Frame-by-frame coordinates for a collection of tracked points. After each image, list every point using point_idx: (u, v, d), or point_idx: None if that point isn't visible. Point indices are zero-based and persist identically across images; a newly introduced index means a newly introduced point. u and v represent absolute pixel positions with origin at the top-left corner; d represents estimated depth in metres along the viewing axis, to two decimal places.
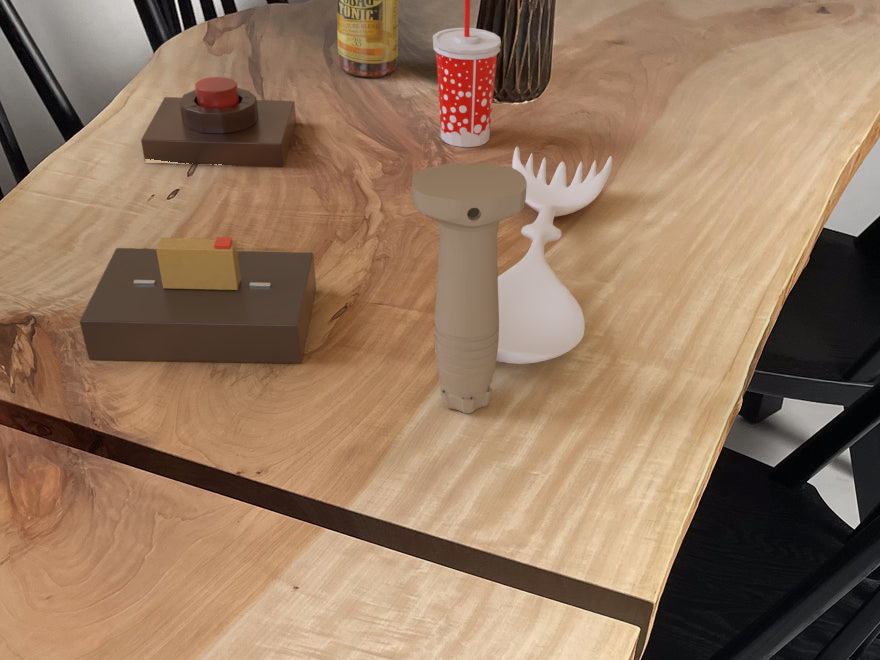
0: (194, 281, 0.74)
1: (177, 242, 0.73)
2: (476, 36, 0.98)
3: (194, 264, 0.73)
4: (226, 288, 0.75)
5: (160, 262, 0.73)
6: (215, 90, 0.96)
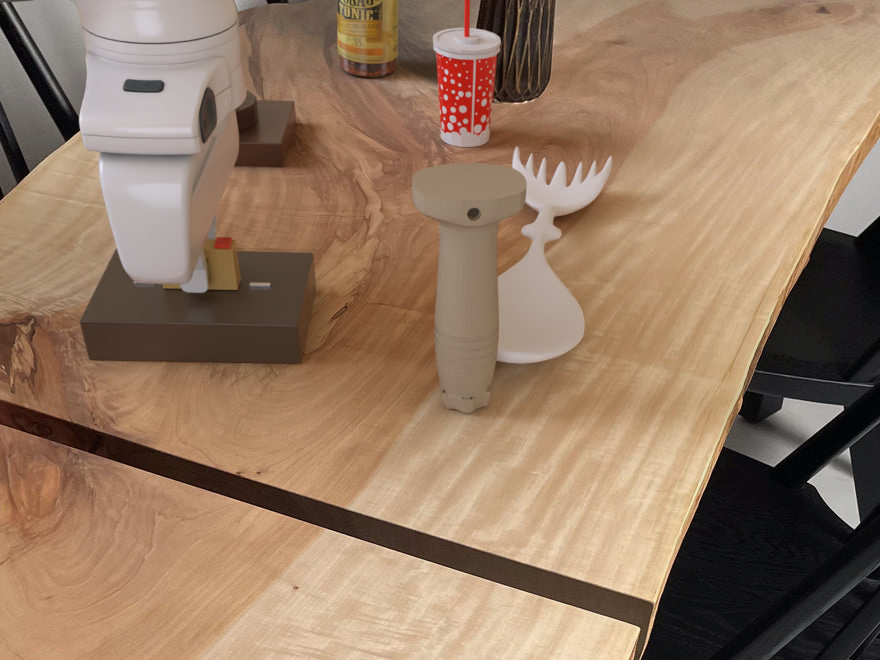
0: None
1: None
2: (476, 36, 0.98)
3: None
4: (226, 288, 0.75)
5: None
6: None
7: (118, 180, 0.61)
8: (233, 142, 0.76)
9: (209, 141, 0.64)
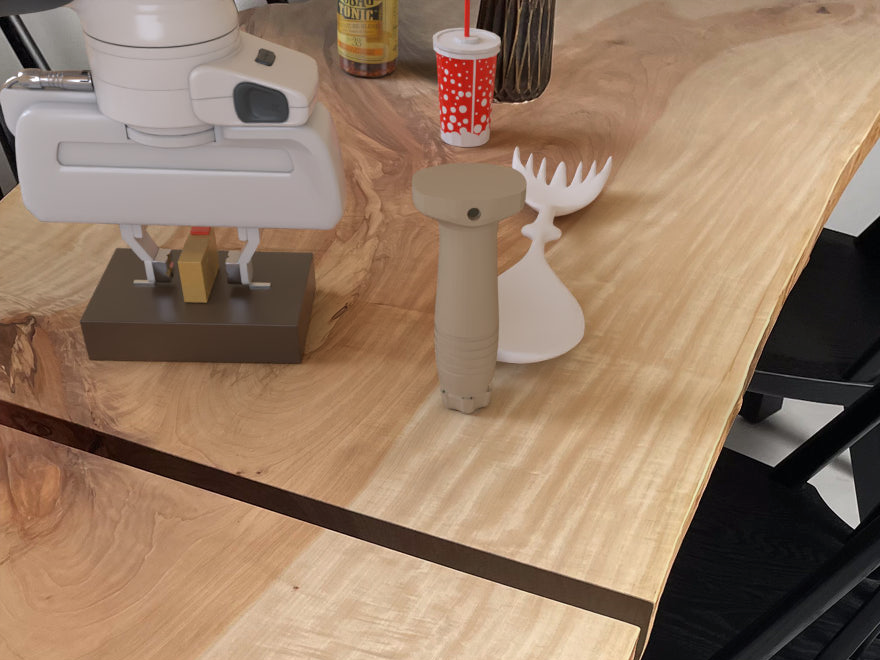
0: (211, 278, 0.75)
1: (190, 252, 0.72)
2: (476, 36, 0.98)
3: (209, 260, 0.74)
4: (217, 270, 0.76)
5: (203, 275, 0.72)
6: None
7: (324, 133, 0.67)
8: None
9: None
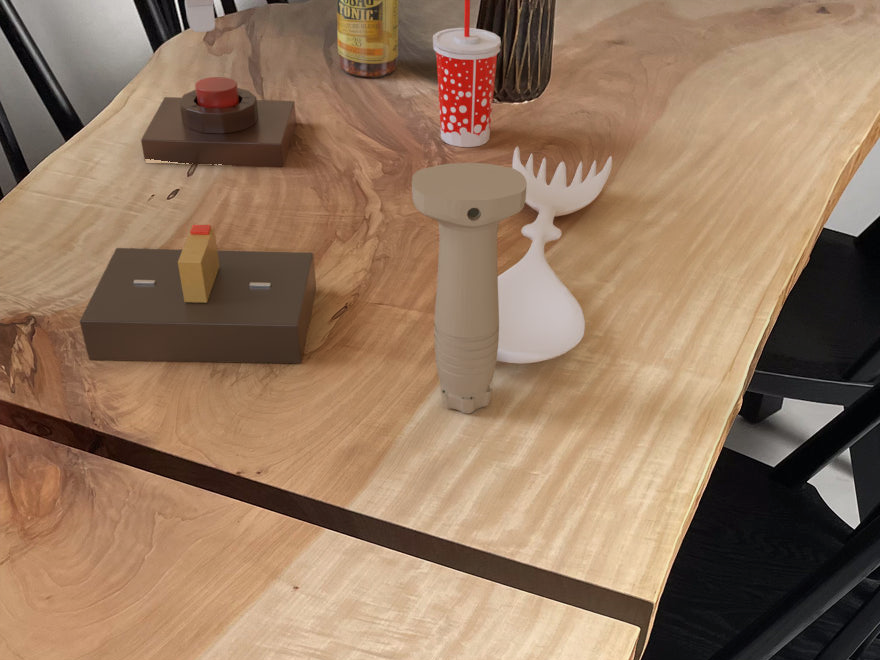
0: (211, 278, 0.75)
1: (190, 252, 0.72)
2: (476, 36, 0.98)
3: (209, 260, 0.74)
4: (217, 270, 0.76)
5: (203, 275, 0.72)
6: (215, 90, 0.96)
7: None
8: None
9: None
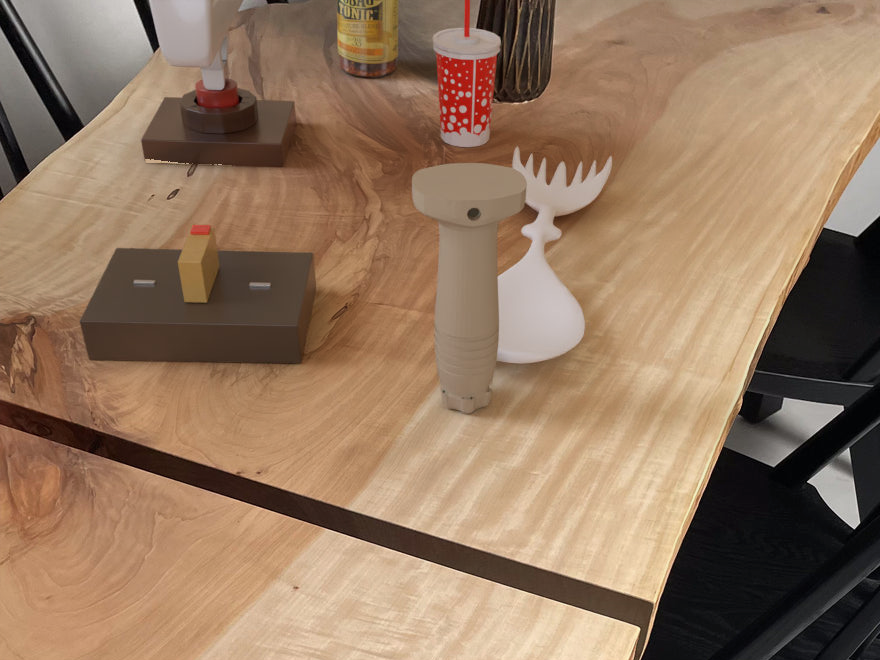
0: (211, 278, 0.75)
1: (190, 252, 0.72)
2: (476, 36, 0.98)
3: (209, 260, 0.74)
4: (217, 270, 0.76)
5: (203, 275, 0.72)
6: (215, 91, 0.96)
7: None
8: None
9: None
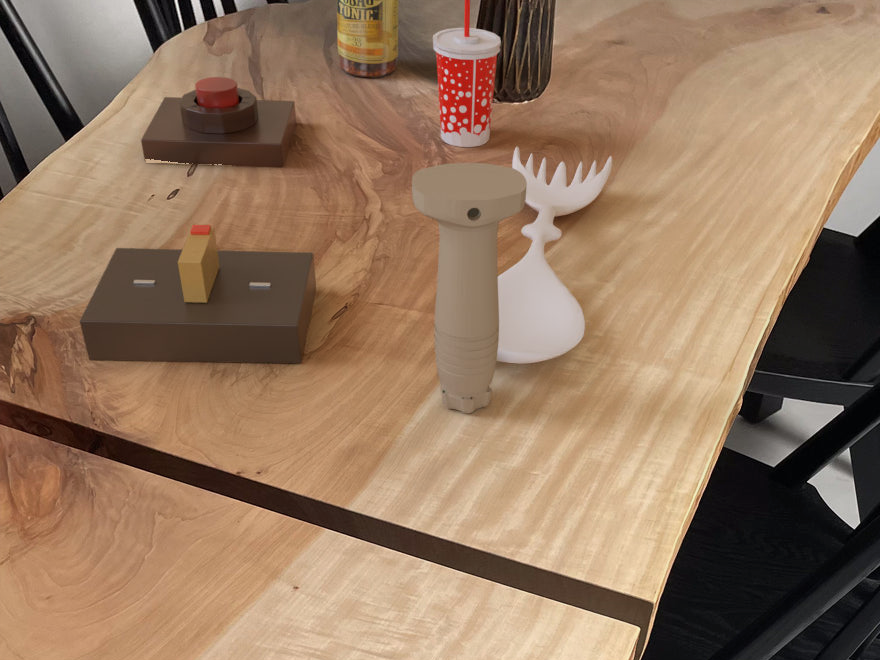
0: (211, 278, 0.75)
1: (190, 252, 0.72)
2: (476, 36, 0.98)
3: (209, 260, 0.74)
4: (217, 270, 0.76)
5: (203, 275, 0.72)
6: (215, 90, 0.96)
7: None
8: None
9: None
